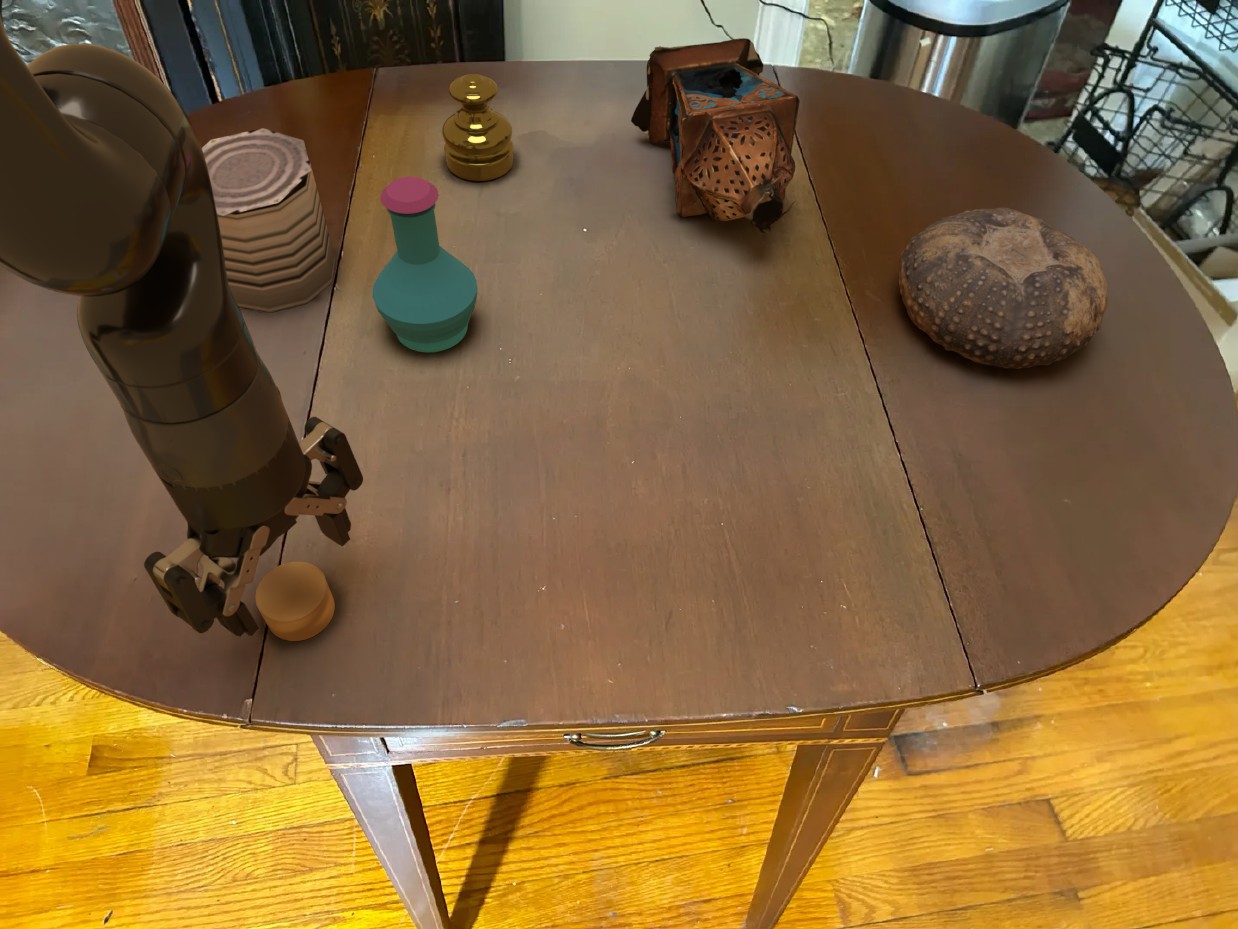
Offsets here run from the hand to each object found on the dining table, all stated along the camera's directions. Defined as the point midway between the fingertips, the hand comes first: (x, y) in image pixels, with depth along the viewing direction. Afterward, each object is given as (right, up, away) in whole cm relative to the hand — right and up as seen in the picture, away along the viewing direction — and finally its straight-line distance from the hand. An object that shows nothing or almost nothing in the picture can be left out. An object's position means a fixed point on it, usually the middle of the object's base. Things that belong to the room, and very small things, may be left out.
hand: (292, 580), depth 63 cm
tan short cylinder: (0, -3, +3) cm, 4 cm away
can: (-11, +27, +26) cm, 38 cm away
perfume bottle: (+5, +21, +22) cm, 30 cm away
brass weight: (+7, +41, +38) cm, 57 cm away
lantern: (+33, +37, +36) cm, 62 cm away
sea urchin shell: (+58, +23, +26) cm, 68 cm away
